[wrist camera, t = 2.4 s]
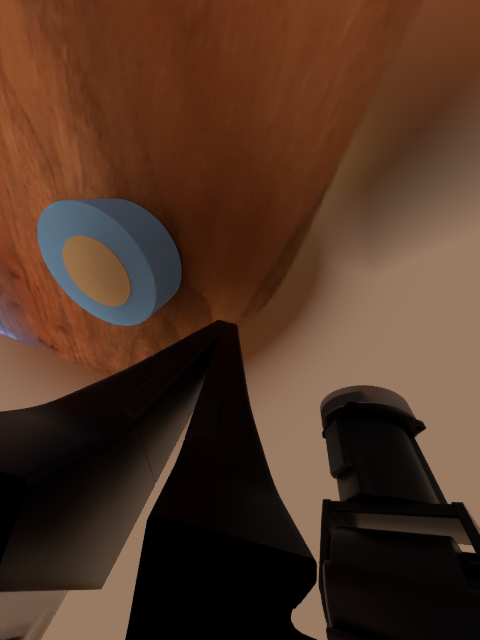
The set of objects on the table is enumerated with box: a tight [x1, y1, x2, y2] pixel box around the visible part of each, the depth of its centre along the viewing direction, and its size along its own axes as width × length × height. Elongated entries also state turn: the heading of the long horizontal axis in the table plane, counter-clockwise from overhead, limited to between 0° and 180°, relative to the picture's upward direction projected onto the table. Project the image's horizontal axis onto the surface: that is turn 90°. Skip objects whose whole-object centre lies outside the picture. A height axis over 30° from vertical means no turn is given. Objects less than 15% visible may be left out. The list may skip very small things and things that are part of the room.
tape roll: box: [37, 198, 182, 326], centre depth 12 cm, size 7×7×3 cm
